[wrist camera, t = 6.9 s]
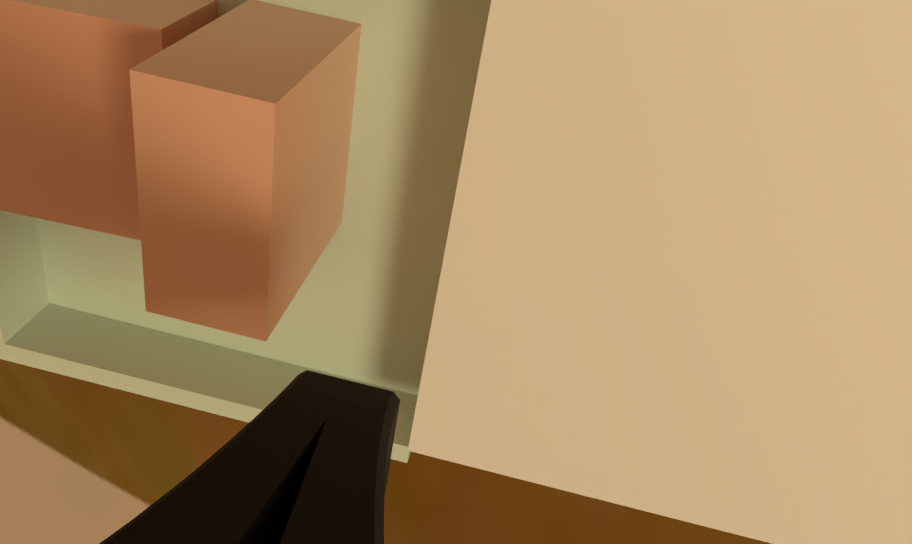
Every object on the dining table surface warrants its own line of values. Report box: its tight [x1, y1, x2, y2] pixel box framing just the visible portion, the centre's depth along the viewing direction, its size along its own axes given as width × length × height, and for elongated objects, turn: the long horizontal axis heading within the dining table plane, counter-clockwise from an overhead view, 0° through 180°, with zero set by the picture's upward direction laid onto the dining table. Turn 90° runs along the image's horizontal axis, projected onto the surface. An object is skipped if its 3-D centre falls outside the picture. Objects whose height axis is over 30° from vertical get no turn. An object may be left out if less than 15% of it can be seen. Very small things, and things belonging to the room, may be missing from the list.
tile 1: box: [129, 0, 362, 341], centre depth 16 cm, size 5×5×2 cm
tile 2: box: [0, 0, 218, 240], centre depth 18 cm, size 5×5×2 cm
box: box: [0, 0, 491, 463], centre depth 18 cm, size 16×12×2 cm
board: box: [408, 0, 912, 544], centre depth 17 cm, size 14×18×3 cm
